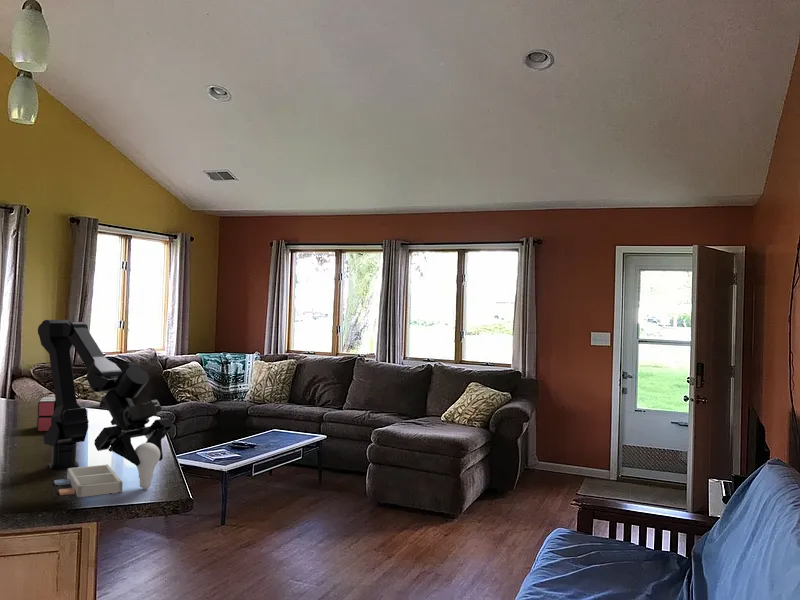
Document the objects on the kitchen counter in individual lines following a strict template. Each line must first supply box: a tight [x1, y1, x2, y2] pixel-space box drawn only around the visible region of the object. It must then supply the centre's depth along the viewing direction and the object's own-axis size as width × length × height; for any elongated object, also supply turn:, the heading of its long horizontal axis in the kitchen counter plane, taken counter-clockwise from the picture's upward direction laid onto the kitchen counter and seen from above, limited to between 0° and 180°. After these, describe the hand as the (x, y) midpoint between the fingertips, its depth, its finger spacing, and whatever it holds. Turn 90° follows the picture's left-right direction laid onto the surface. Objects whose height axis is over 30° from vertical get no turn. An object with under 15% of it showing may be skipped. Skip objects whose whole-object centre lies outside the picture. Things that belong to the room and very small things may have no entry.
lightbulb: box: [134, 442, 160, 490], centre depth 159 cm, size 6×6×11 cm
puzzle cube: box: [36, 396, 56, 433], centre depth 223 cm, size 10×10×10 cm
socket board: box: [53, 464, 123, 498], centre depth 159 cm, size 18×13×2 cm
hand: (150, 462), depth 158 cm, fingers closed on lightbulb, 6 cm apart
